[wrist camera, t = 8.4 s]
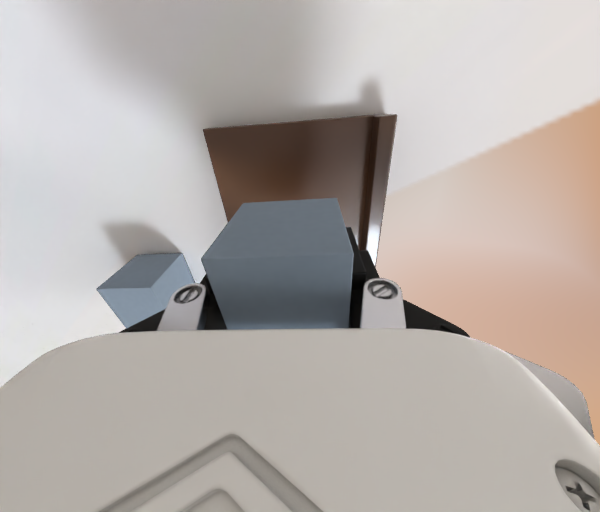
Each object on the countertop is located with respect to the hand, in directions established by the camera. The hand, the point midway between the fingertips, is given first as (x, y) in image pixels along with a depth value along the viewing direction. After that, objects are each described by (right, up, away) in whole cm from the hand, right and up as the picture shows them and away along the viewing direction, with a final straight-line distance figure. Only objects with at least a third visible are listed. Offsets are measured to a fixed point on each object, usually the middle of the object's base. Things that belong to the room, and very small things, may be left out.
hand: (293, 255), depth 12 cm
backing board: (+1, +2, +8) cm, 8 cm away
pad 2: (0, 0, 0) cm, 0 cm away
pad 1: (-13, -2, +11) cm, 17 cm away
